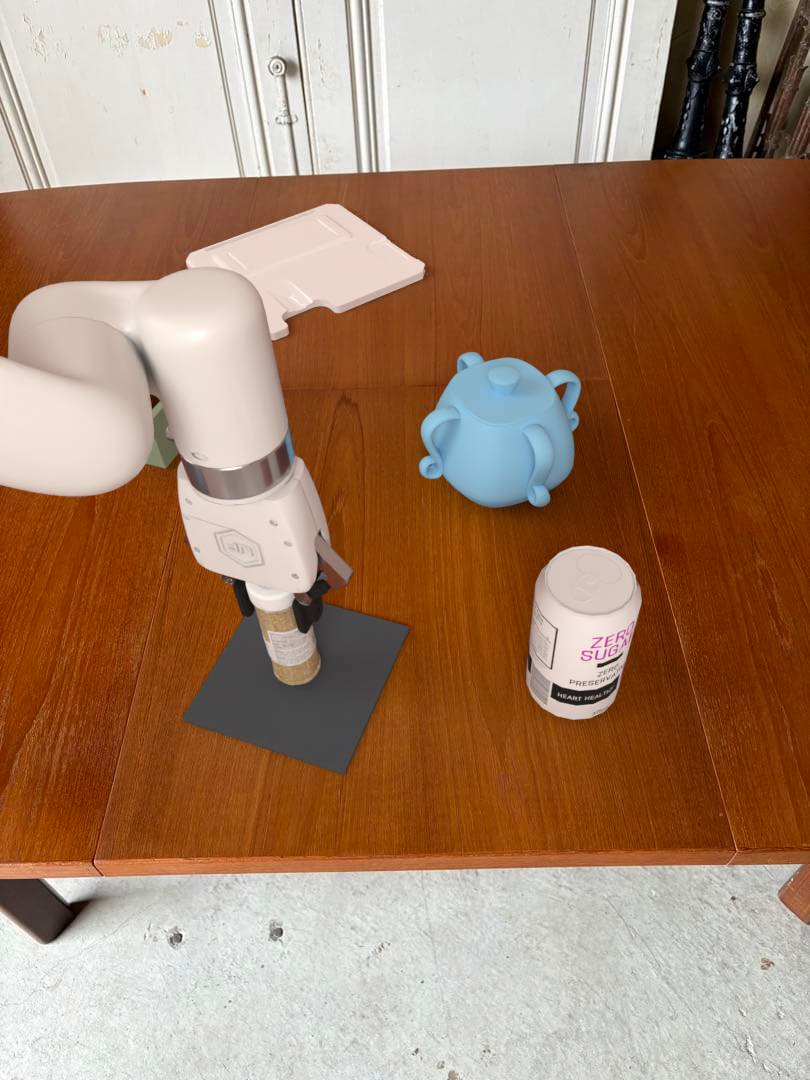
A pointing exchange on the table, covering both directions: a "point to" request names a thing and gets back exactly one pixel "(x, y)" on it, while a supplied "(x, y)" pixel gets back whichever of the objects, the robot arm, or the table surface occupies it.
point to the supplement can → (581, 631)
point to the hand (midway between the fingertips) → (282, 610)
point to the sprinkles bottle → (284, 635)
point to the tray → (313, 263)
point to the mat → (302, 689)
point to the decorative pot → (502, 431)
